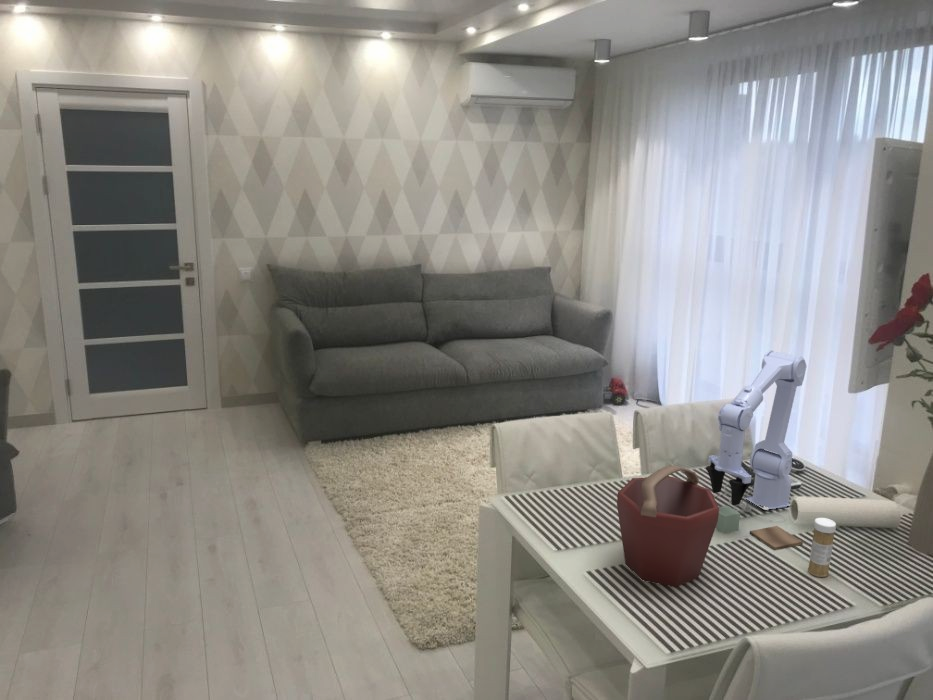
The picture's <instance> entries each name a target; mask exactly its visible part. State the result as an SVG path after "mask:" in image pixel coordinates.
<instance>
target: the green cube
mask: <svg viewBox="0 0 933 700" xmlns="http://www.w3.org/2000/svg"><path fill="white" fill-rule="evenodd" d="M718 507H719V515H718V522H717V525H716V528H715V530H717V531H718V532H720V533H721V534H727V533H728V534H729V533H733V532H738V531H739V527H740V519H741V513H740V512H739V511H737V510H736V509H734V508H733V507H731V506H729V505H724V506H723V505H722V506H718Z"/></svg>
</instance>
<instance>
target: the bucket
mask: <svg viewBox="0 0 933 700" xmlns="http://www.w3.org/2000/svg"><path fill="white" fill-rule="evenodd" d="M680 471H681V472H683V473H684V474H685V476H686V477H687V479H686V480H683V479H679V478H677V477H673V476H671V475H672V474H675V473H678V472H680ZM699 482H700V479H699V476H698V475H697V473H696V472H695V471H693V470H691V469H688V468H685V467H682V466H677V465H674V464H673V465H672V464H669V465H667V466H664V467H661V468H659V469H658V470H656V471H654V472H653V473H651V474H650V475H649V476H647V477H633V478H631V479H630V480H629V481H628V482H627V483H626V484H625V485H624V486H623V487H622V488H620V490H619V491H618V492H617V497H616V500H617V501H616V507H617V516H618V521H619V527H620V529H619V530H620V534H621V544H622V549H623V550H622V551H623V556H624V564H626V565H627V566H628V567H629V568H630V569H629V568H628V567H627V566H626V565H625V566H626V567H627V568H628V569H629V570H630V571H631V572H633V571H634V572H635V573H636V574H637V575H638V576H639V577H640V578H641V579H642V580H644V581H643V582H646V581H650V582H649V583H651V582H654V583H653V584H656V583H659V584H658V585H662V584H664V585H663V586H667V585H669V586H668V587H672V586H673V588H677V587H680V586H682V585H685V584H687V583H690V582H691V581H695V580H697V579H699V576H700V574H701V571H702V568H703V566H704V563H705V560H706V556H707V554H708V550H709V548H710V545H711V542H712V539H713V537H714V534H715V530H716V529H715V528H716V525H717V522H718V515H719V507H720V506H719V505H718V503H717V501H716V499H715V497H714V494H713V491H711V490H712V489H710V488H707V487H704V486H700V485H698V484H699ZM634 572H633V573H634ZM635 573H634V574H635ZM636 574H635V575H636ZM637 575H636V576H637ZM638 576H637V577H638ZM639 577H638V578H639ZM640 578H639V579H640ZM641 579H640V580H641ZM642 580H641V581H642ZM689 581H690V582H689Z"/></svg>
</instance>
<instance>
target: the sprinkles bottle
mask: <svg viewBox="0 0 933 700" xmlns="http://www.w3.org/2000/svg"><path fill="white" fill-rule="evenodd" d="M813 523H814V524H813V535H812V536H813V537H812V542H811V547H810V553H809V554H810V555H809V563H808V568H807V571H808V572H809V574H811V576H814V577H816V578H817V577H818V578H827V577H828V576H829V574H830V572H829V571H830V564H831V559H832V553H833V547H834V538H835V537H834V536H835V532H836V528H837V523H836V522H835V521H834V520H832V519H829V518H828V517H816V518H815V519H814V522H813Z"/></svg>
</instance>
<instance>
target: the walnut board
mask: <svg viewBox="0 0 933 700" xmlns="http://www.w3.org/2000/svg"><path fill="white" fill-rule="evenodd" d="M749 535H751V536H752V537H754V538H755V539H757V540H758V541H760V542H762V543H763V544H764V545H766V546H767V547H769V548H770V549H771V550H773V551H778V550H782V549H783V550H784V549H787V548H791V547H797V546H801V544H802V545H803V543H804V542H803V541H802V540H801V539H799V538H798V537H796V536H795V535H793V534H791V533H790V532H788V531H786V530H785V529H783V528H781V527H780V526H778V525H775V526H769V527H768V526H767V527H763V528H759V529H752V530H749Z"/></svg>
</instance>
